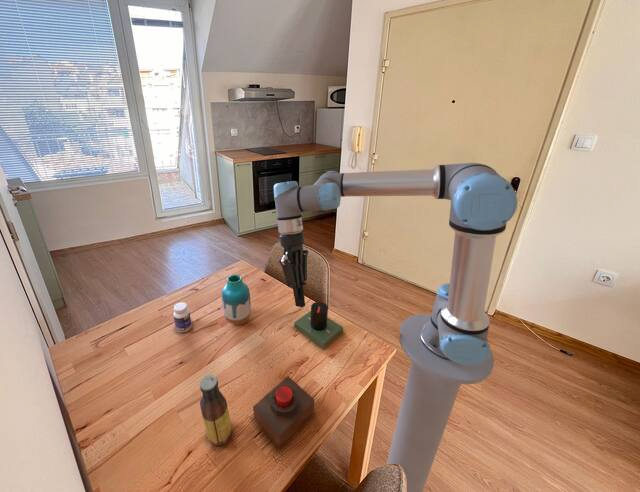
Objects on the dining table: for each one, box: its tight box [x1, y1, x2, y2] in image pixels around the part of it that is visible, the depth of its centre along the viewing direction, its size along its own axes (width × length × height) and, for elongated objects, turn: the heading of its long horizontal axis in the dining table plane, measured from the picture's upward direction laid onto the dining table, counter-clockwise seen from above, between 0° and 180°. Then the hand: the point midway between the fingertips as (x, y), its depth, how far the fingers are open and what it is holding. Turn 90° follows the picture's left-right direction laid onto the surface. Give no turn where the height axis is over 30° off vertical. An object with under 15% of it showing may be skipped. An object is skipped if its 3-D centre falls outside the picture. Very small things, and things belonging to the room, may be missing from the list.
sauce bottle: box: [199, 374, 232, 446], centre depth 72 cm, size 6×6×20 cm
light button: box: [276, 386, 292, 407], centre depth 76 cm, size 4×4×2 cm
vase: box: [221, 274, 252, 325], centre depth 110 cm, size 11×11×19 cm
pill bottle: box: [172, 301, 192, 333], centre depth 108 cm, size 6×6×10 cm
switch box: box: [252, 375, 315, 450], centre depth 78 cm, size 13×10×8 cm
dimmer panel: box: [293, 310, 344, 350], centre depth 108 cm, size 14×11×3 cm
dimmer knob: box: [310, 301, 329, 331], centre depth 105 cm, size 6×6×8 cm
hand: (300, 305), depth 92 cm, fingers closed
